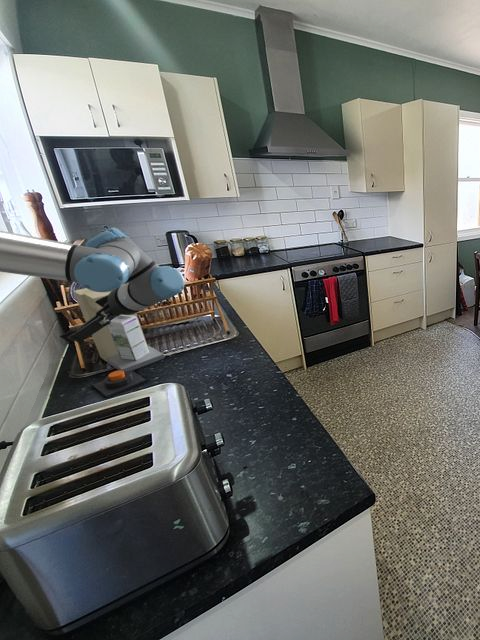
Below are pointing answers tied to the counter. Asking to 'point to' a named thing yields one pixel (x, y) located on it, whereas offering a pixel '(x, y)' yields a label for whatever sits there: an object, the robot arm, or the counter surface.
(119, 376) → the button
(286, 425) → the counter surface
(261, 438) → the counter surface
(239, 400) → the counter surface
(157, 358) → the coffee machine
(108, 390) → the control block
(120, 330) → the syrup box
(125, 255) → the robot arm
